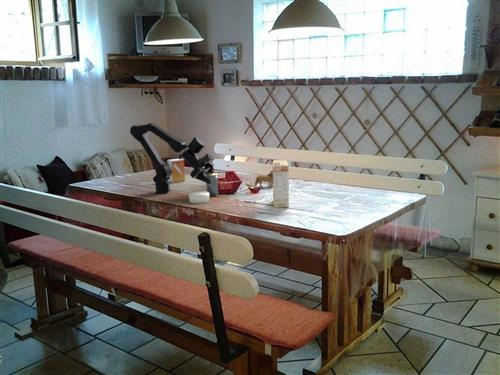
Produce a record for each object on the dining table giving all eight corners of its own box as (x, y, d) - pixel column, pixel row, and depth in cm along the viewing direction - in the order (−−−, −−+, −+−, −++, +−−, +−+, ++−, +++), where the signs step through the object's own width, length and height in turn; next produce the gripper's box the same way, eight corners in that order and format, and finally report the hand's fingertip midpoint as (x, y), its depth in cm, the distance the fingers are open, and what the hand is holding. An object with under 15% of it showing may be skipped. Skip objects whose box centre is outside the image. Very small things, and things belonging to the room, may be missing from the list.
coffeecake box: (273, 200, 239) (272, 160, 235) (287, 199, 238) (287, 159, 234) (273, 207, 224) (272, 165, 220) (289, 207, 224) (288, 165, 220)
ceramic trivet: (187, 203, 236) (186, 195, 235) (191, 198, 246) (191, 191, 245) (207, 203, 235) (207, 195, 234) (211, 198, 245) (211, 191, 244)
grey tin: (205, 196, 250) (204, 175, 248) (207, 193, 256) (206, 172, 254) (217, 196, 249) (216, 175, 247) (219, 193, 255) (218, 172, 253)
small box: (172, 183, 286) (171, 160, 283) (168, 181, 291) (166, 159, 288) (185, 181, 290) (184, 159, 288) (180, 179, 295) (179, 158, 293)
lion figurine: (274, 184, 275) (274, 168, 273) (279, 186, 270) (279, 170, 268) (251, 187, 268) (251, 171, 266) (256, 189, 264) (255, 172, 262)
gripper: (194, 151, 240) (216, 174, 239) (209, 146, 258) (230, 167, 256) (181, 166, 244) (202, 189, 243) (196, 161, 262) (216, 182, 261)
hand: (213, 181), depth 251 cm, fingers open, 9 cm apart
